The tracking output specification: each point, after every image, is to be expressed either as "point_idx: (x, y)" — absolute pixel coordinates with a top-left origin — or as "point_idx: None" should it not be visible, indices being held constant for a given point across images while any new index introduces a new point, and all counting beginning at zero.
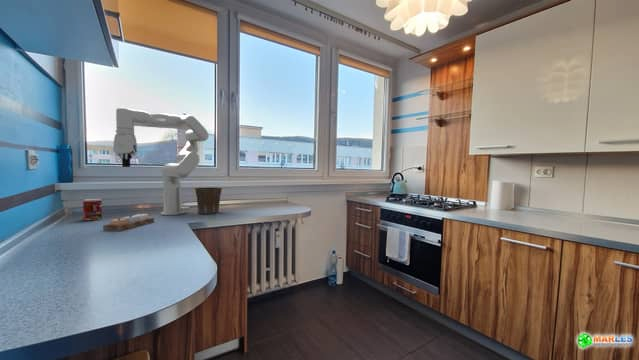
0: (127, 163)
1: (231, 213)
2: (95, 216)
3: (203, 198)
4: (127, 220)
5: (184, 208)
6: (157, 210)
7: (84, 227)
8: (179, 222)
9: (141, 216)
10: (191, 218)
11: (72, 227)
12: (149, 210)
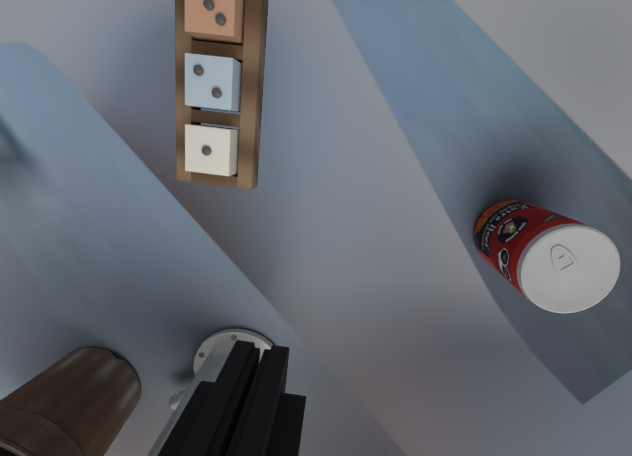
0: (190, 398)
1: (6, 371)
2: (487, 217)
3: (28, 396)
4: (188, 32)
5: (185, 391)
6: (359, 441)
7: (405, 43)
8: (78, 175)
9: (186, 124)
10: (90, 262)
11: (461, 39)
12: (395, 442)
